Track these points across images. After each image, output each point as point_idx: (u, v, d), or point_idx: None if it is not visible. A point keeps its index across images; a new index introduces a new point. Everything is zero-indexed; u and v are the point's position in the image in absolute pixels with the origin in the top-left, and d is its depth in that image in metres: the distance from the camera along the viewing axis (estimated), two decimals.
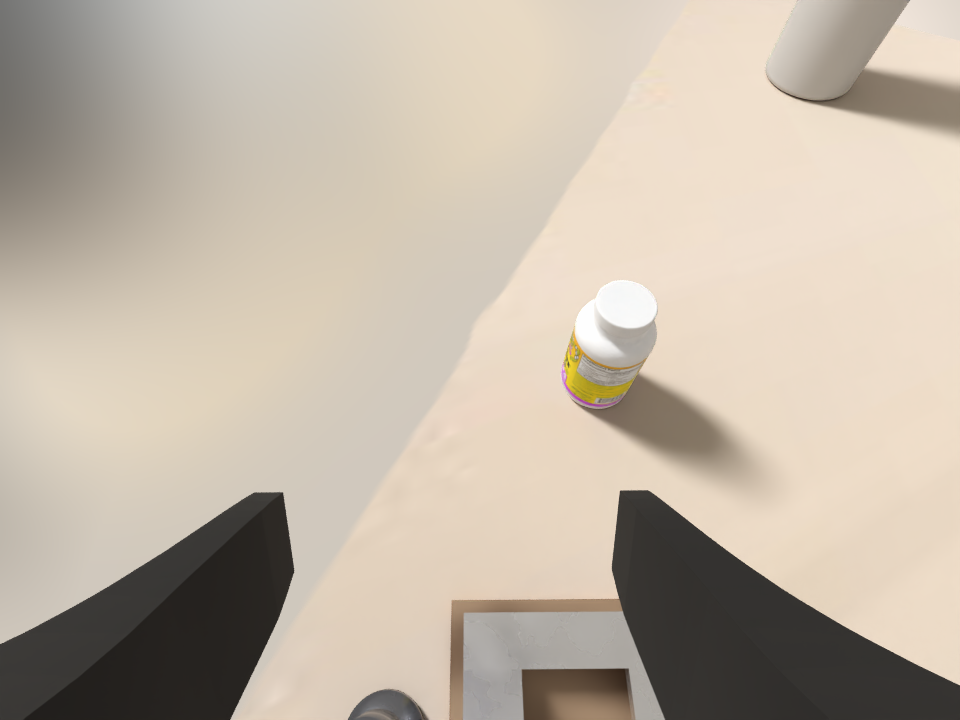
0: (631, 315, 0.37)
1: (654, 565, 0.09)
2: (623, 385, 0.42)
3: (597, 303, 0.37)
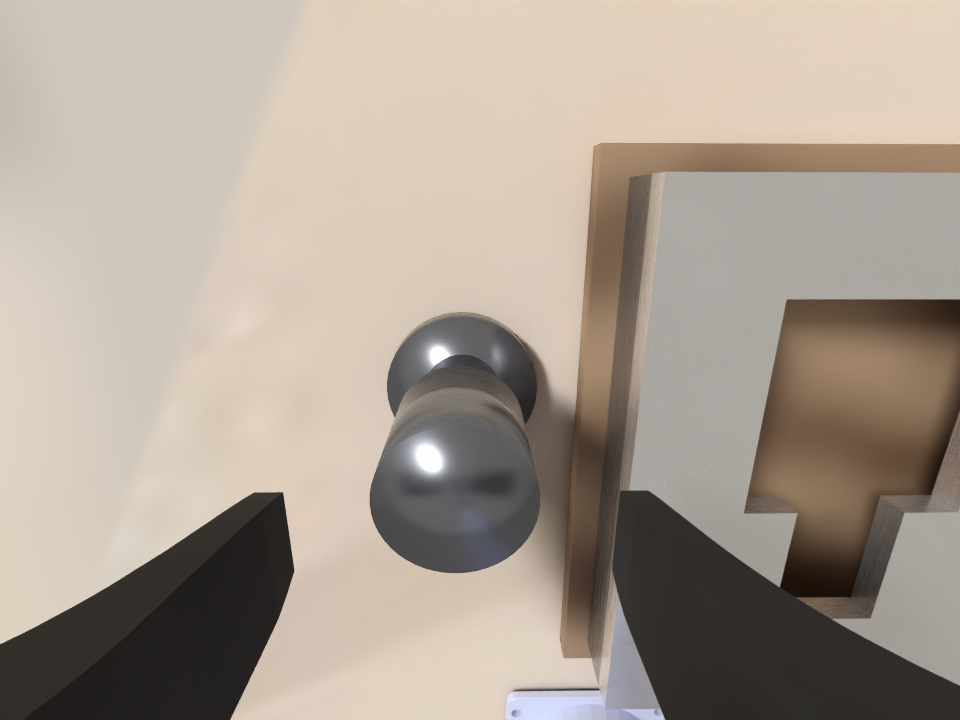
0: None
1: (654, 566, 0.09)
2: None
3: None
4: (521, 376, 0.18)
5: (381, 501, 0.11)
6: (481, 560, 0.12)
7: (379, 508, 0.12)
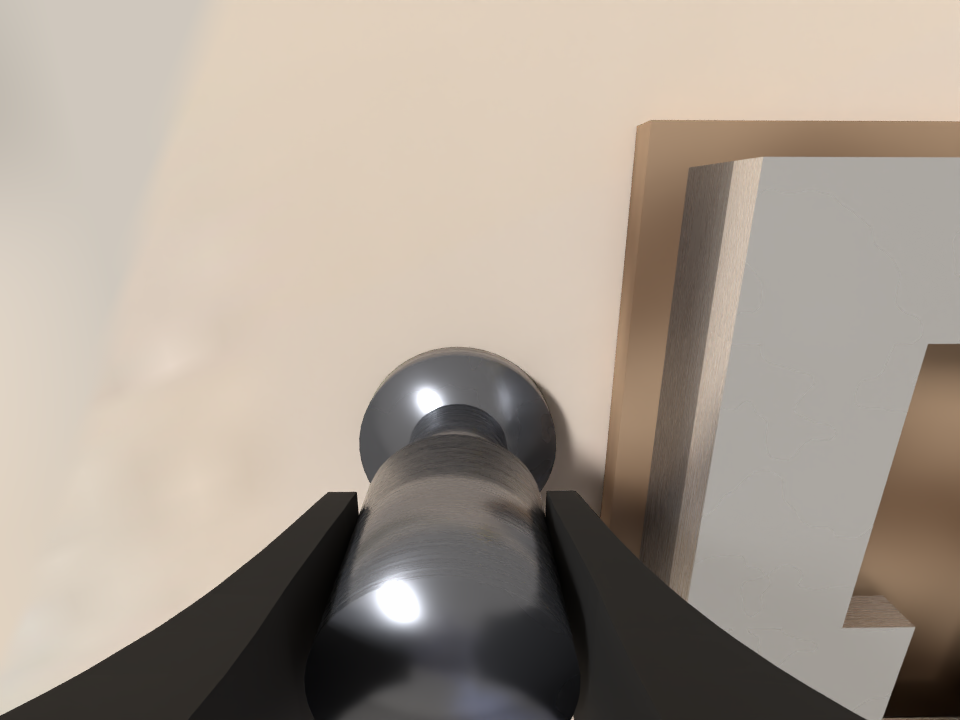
0: None
1: (565, 566, 0.08)
2: None
3: None
4: (535, 431, 0.14)
5: (323, 687, 0.07)
6: None
7: (321, 698, 0.07)
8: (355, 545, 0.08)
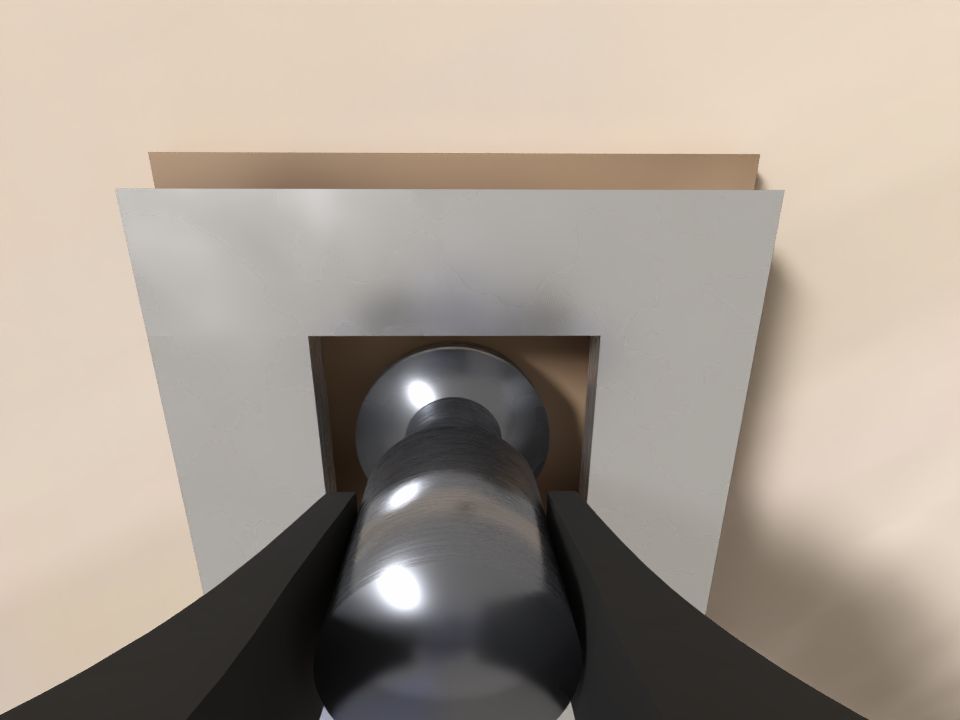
0: None
1: (567, 566, 0.08)
2: None
3: None
4: (529, 424, 0.14)
5: (332, 672, 0.07)
6: None
7: (329, 681, 0.07)
8: (360, 534, 0.08)
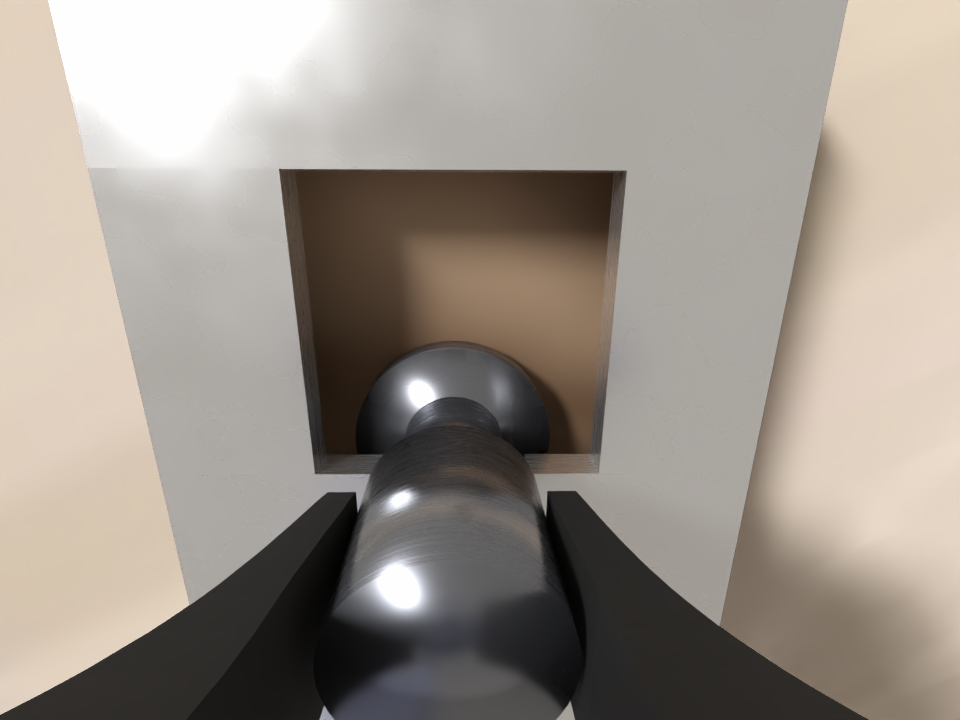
0: None
1: (566, 566, 0.08)
2: None
3: None
4: (530, 423, 0.14)
5: (332, 671, 0.07)
6: None
7: (330, 681, 0.07)
8: (360, 533, 0.08)
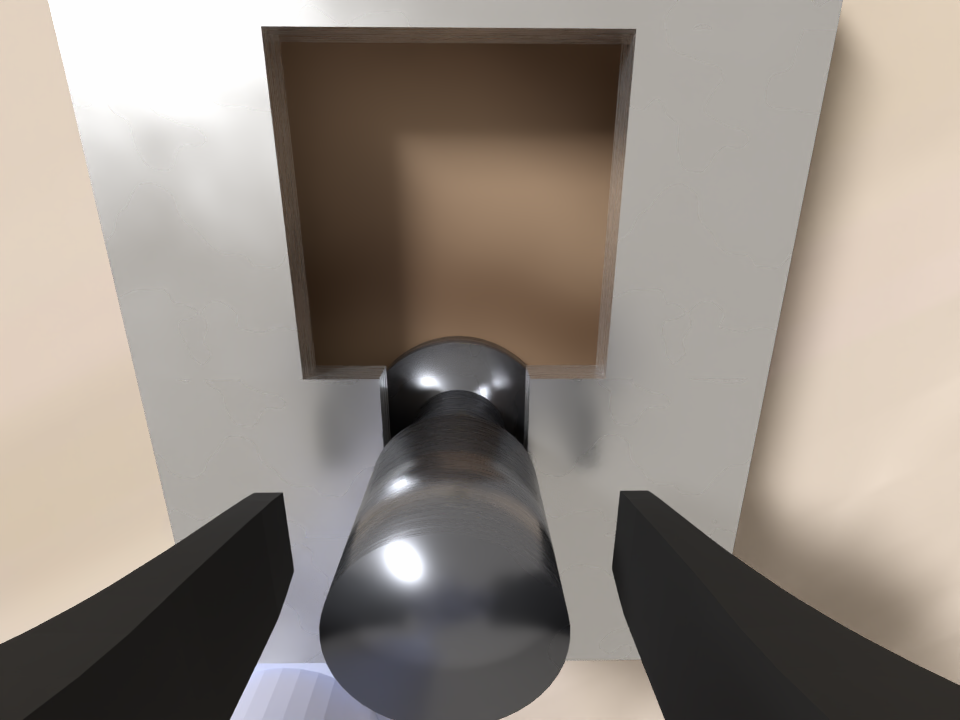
0: None
1: (653, 566, 0.09)
2: None
3: None
4: None
5: (336, 636, 0.08)
6: (483, 712, 0.08)
7: (334, 646, 0.08)
8: (364, 511, 0.09)
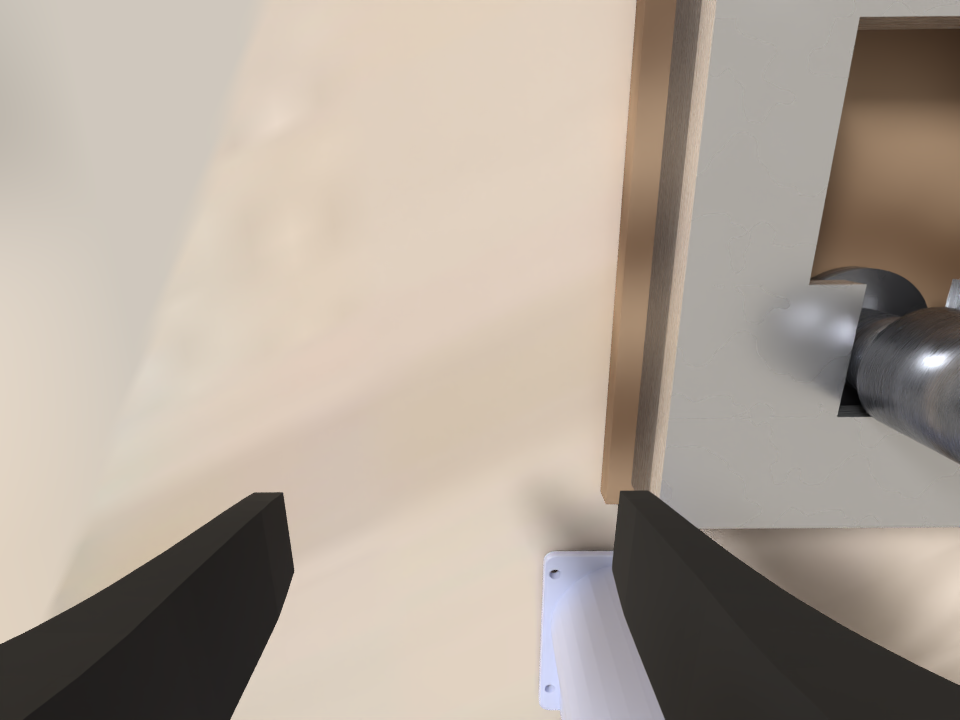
0: None
1: (653, 566, 0.09)
2: None
3: None
4: None
5: None
6: None
7: None
8: None
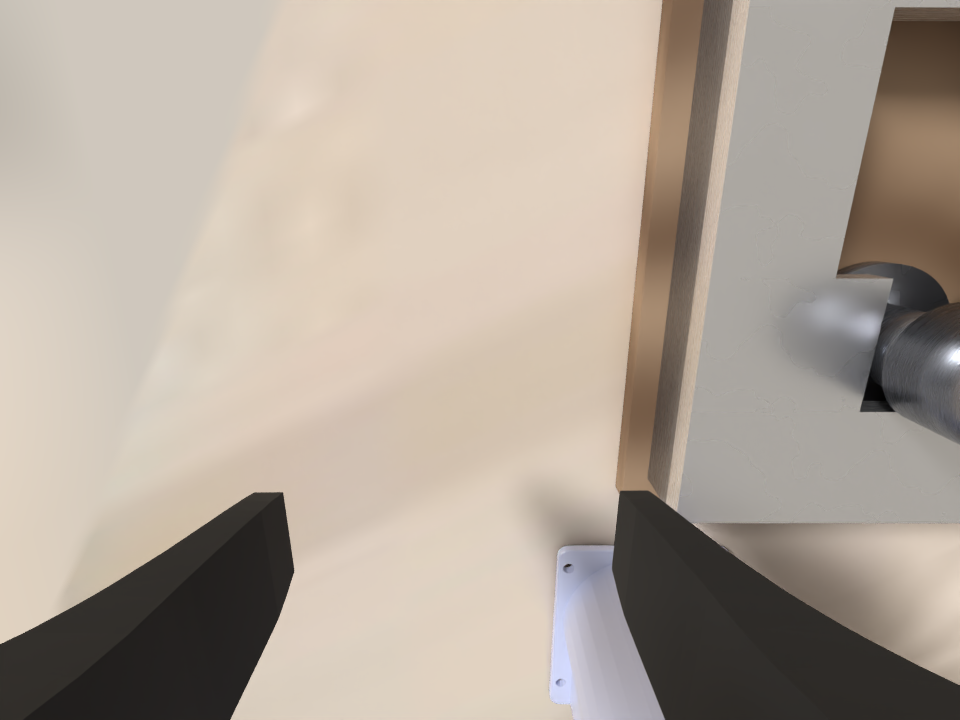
0: None
1: (654, 566, 0.09)
2: None
3: None
4: None
5: None
6: None
7: None
8: None
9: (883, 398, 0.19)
